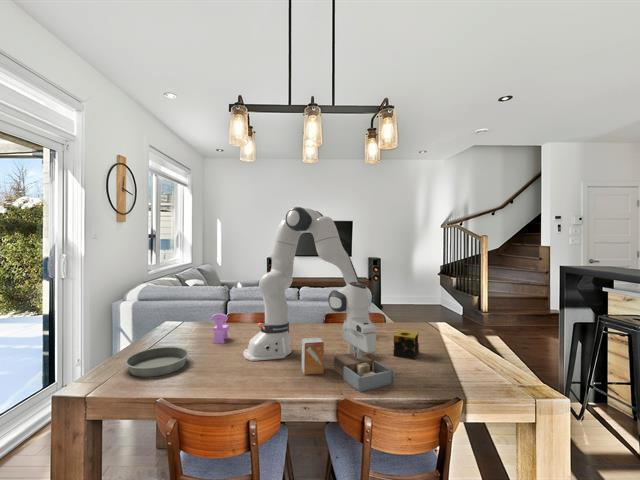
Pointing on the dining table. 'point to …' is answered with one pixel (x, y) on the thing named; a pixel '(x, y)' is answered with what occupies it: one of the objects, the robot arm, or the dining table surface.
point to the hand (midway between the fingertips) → (357, 357)
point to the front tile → (367, 373)
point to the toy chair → (220, 328)
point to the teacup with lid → (350, 349)
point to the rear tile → (362, 368)
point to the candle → (406, 344)
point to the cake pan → (156, 361)
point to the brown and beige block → (350, 362)
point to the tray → (369, 378)
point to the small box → (312, 355)
